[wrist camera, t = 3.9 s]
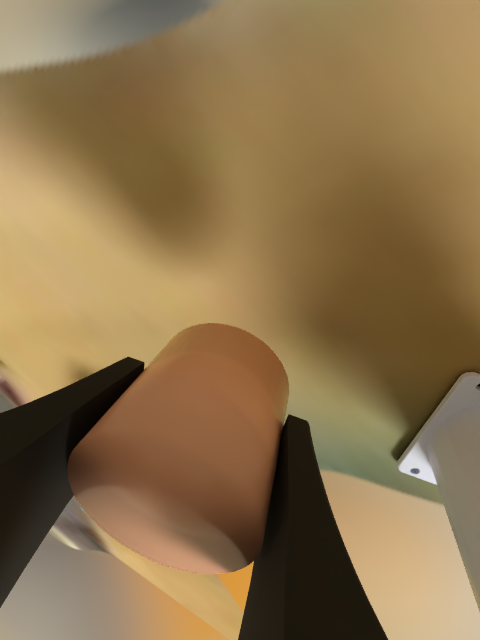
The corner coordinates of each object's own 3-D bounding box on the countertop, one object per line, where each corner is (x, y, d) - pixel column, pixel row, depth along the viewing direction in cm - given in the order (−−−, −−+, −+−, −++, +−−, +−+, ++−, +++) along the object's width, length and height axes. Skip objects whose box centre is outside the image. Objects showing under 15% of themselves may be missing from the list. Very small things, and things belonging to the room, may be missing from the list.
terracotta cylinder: (308, 351, 10) (293, 489, 6) (268, 449, 13) (236, 597, 8) (168, 304, 11) (61, 399, 6) (155, 406, 13) (71, 525, 9)
